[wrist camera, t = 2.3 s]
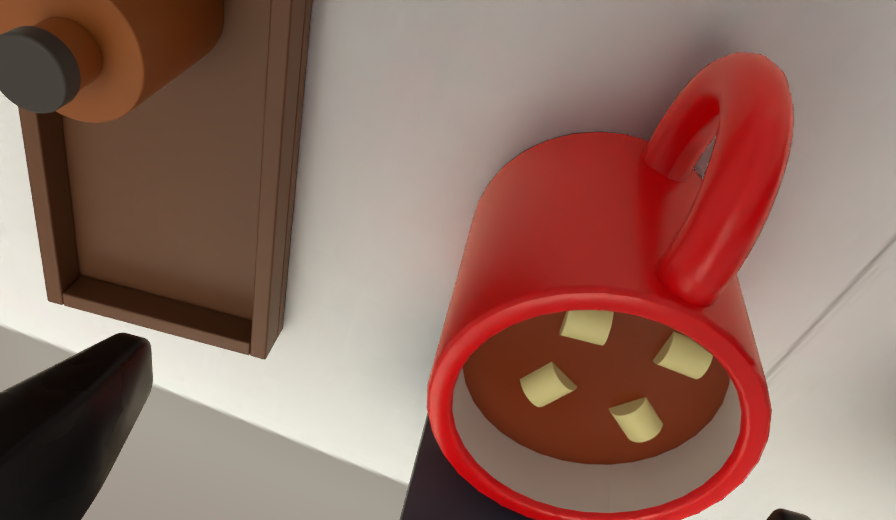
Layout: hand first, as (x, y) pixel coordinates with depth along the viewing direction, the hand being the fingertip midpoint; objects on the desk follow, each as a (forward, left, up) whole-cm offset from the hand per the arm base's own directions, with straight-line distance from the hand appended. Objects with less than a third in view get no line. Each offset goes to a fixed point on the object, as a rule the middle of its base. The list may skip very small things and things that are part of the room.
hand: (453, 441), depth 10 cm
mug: (-4, +2, -13) cm, 14 cm away
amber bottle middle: (+11, 0, -13) cm, 16 cm away
